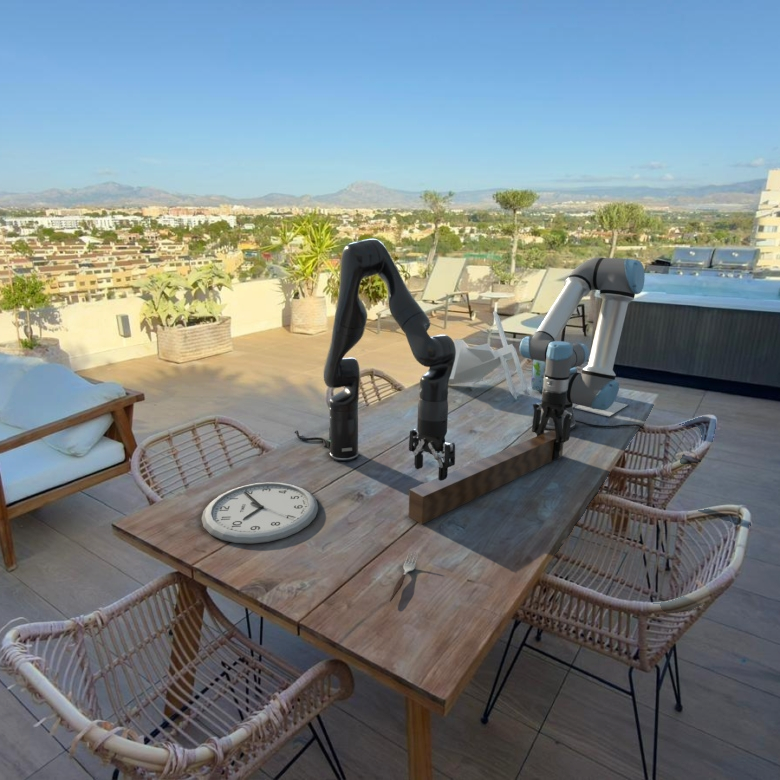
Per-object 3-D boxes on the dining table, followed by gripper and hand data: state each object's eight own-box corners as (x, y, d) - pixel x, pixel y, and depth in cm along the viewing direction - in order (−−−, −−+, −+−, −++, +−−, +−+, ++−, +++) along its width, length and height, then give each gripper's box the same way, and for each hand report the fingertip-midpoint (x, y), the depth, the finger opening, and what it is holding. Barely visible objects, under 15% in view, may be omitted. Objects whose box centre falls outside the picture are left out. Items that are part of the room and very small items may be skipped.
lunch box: (547, 397, 237) (552, 352, 231) (526, 391, 245) (531, 348, 238) (574, 386, 255) (580, 344, 249) (554, 381, 262) (559, 340, 256)
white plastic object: (461, 429, 252) (437, 405, 227) (444, 352, 274) (420, 323, 250) (535, 404, 240) (518, 377, 215) (510, 326, 262) (492, 293, 237)
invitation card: (608, 416, 214) (573, 407, 224) (608, 416, 214) (573, 408, 224) (628, 404, 229) (594, 396, 238) (628, 405, 229) (594, 397, 238)
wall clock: (315, 535, 126) (186, 539, 123) (315, 541, 126) (187, 545, 123) (320, 478, 154) (216, 480, 152) (320, 483, 155) (216, 485, 152)
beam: (549, 451, 180) (551, 430, 177) (562, 456, 176) (564, 434, 174) (408, 516, 138) (409, 489, 136) (421, 524, 134) (422, 496, 132)
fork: (383, 601, 106) (384, 593, 106) (408, 557, 120) (408, 550, 120) (396, 605, 105) (396, 596, 105) (419, 560, 120) (419, 552, 119)
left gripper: (402, 410, 134) (401, 468, 138) (443, 426, 123) (440, 488, 128) (423, 404, 138) (421, 461, 143) (464, 419, 128) (460, 479, 133)
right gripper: (524, 385, 172) (518, 450, 179) (574, 399, 159) (565, 468, 166) (537, 381, 177) (531, 445, 184) (587, 394, 164) (578, 462, 171)
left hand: (430, 473), depth 136 cm, fingers open, 8 cm apart
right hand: (547, 456), depth 175 cm, fingers closed on beam, 5 cm apart
